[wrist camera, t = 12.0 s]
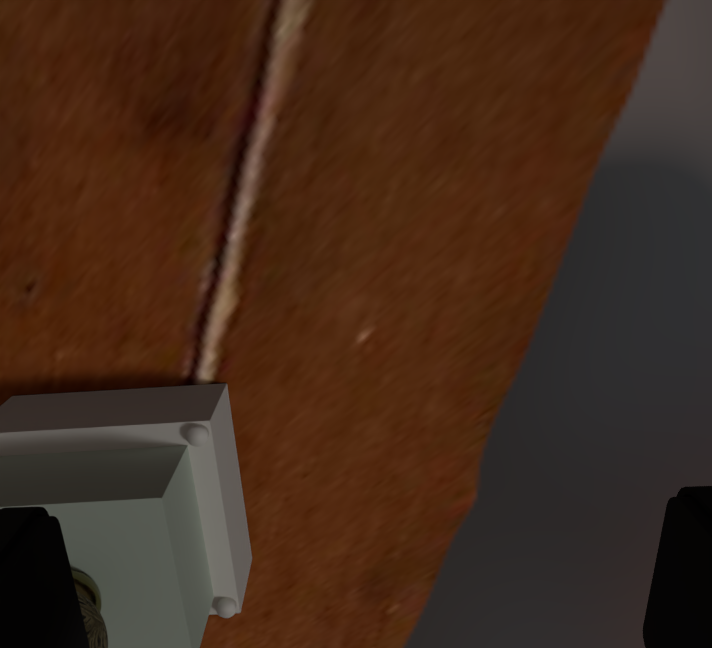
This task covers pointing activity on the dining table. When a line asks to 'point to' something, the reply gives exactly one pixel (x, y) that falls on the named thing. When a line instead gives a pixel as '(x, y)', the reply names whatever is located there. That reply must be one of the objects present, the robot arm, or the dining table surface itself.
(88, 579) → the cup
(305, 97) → the dining table surface
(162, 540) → the grey stacking block
